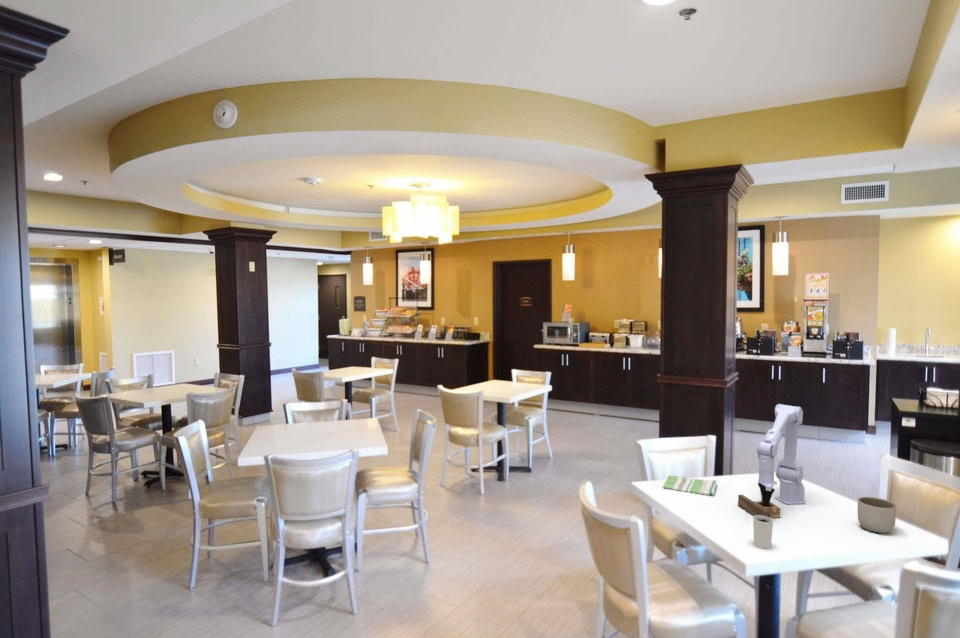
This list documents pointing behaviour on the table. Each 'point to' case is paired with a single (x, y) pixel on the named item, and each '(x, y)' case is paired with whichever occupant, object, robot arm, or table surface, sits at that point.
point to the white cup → (762, 531)
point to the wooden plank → (751, 506)
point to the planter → (876, 514)
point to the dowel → (764, 504)
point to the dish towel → (691, 485)
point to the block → (771, 509)
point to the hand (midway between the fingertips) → (765, 502)
